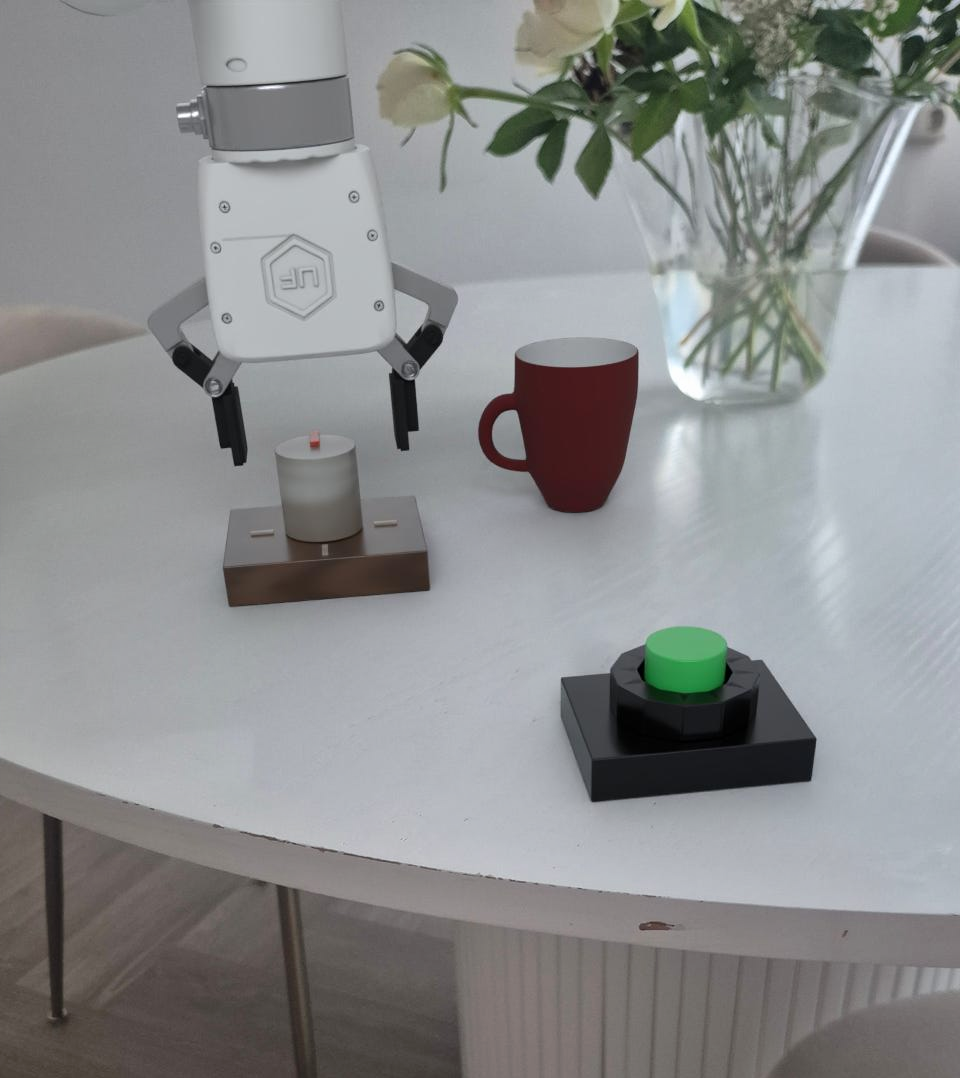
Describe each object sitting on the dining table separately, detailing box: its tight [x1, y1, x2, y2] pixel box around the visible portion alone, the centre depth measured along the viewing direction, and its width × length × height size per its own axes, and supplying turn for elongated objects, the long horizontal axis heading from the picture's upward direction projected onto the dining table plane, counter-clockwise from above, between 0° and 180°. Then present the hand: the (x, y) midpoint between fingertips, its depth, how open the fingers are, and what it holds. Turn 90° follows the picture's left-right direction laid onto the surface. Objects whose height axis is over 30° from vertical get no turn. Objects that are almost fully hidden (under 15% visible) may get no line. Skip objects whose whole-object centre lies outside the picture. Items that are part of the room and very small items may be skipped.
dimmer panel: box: [222, 495, 431, 607], centre depth 78 cm, size 12×10×3 cm
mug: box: [477, 336, 640, 513], centre depth 84 cm, size 10×8×10 cm
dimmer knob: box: [274, 429, 363, 542], centre depth 76 cm, size 5×5×5 cm
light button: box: [644, 625, 728, 693], centre depth 57 cm, size 4×4×2 cm
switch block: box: [560, 644, 818, 803], centre depth 58 cm, size 10×8×4 cm
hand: (322, 451), depth 75 cm, fingers open, 9 cm apart
